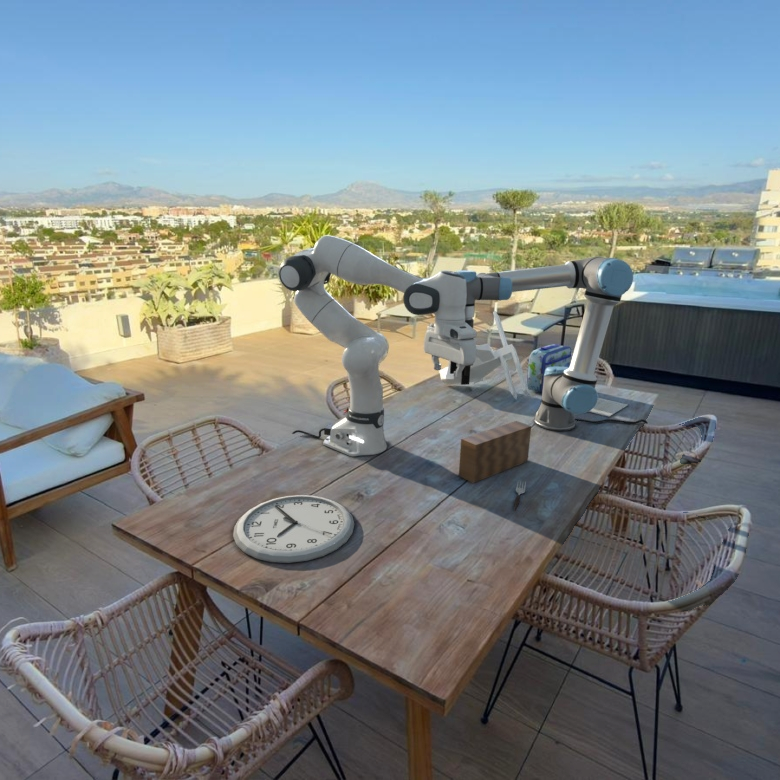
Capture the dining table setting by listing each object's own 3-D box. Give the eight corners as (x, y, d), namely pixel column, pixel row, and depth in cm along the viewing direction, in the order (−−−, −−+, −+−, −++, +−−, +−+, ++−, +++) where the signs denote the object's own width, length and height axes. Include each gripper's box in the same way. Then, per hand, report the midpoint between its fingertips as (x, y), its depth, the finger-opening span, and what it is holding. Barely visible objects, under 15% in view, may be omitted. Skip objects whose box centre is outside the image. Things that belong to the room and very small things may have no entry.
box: (513, 455, 177) (516, 420, 173) (527, 461, 172) (531, 426, 168) (458, 475, 161) (461, 438, 157) (473, 483, 157) (475, 445, 153)
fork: (509, 511, 141) (510, 504, 140) (517, 485, 155) (517, 479, 155) (519, 513, 140) (520, 506, 139) (526, 487, 154) (526, 481, 154)
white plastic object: (461, 429, 252) (437, 405, 227) (444, 352, 274) (420, 323, 250) (535, 404, 240) (518, 377, 215) (510, 326, 262) (492, 293, 237)
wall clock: (355, 554, 119) (220, 559, 116) (355, 560, 119) (221, 565, 117) (353, 490, 147) (244, 493, 145) (353, 495, 148) (245, 498, 145)
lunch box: (543, 396, 238) (548, 352, 231) (522, 391, 245) (526, 347, 239) (570, 385, 255) (575, 343, 249) (550, 381, 262) (555, 340, 256)
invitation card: (608, 416, 214) (573, 407, 224) (608, 416, 214) (573, 408, 224) (628, 404, 229) (594, 396, 238) (628, 405, 229) (594, 397, 238)
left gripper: (419, 323, 160) (418, 367, 164) (464, 334, 143) (461, 383, 148) (435, 321, 163) (433, 364, 167) (481, 332, 147) (477, 380, 151)
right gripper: (442, 312, 186) (439, 369, 193) (462, 324, 163) (459, 389, 169) (462, 311, 188) (459, 369, 194) (485, 324, 164) (481, 388, 171)
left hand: (447, 373), depth 157 cm, fingers open, 8 cm apart
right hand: (459, 378), depth 182 cm, fingers open, 13 cm apart
